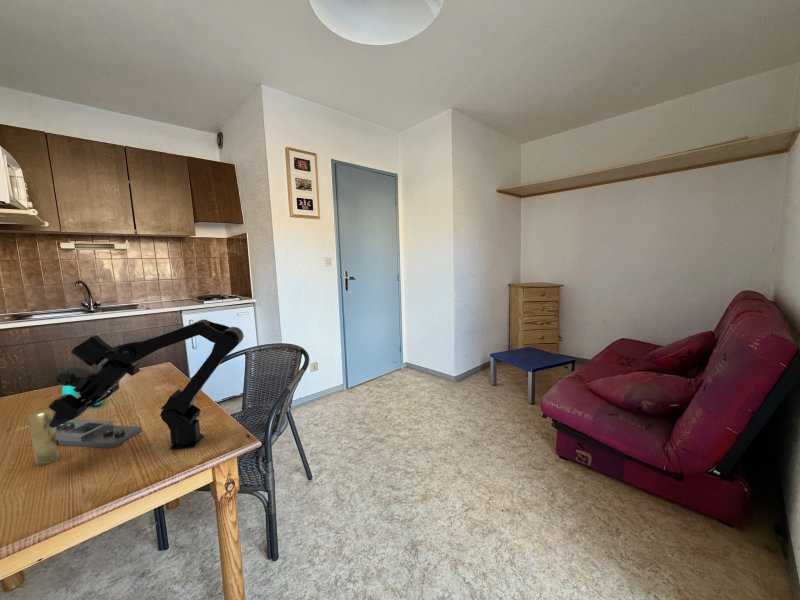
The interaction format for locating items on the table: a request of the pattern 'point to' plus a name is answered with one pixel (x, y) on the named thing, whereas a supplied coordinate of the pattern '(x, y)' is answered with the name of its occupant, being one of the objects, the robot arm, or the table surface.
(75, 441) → the bolted metal plate
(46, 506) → the table surface
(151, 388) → the table surface
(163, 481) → the table surface
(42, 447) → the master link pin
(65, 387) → the donuts
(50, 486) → the table surface
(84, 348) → the robot arm
